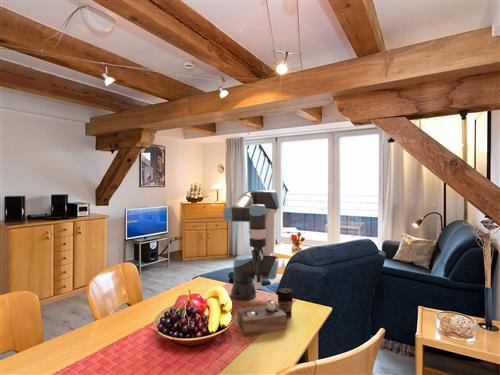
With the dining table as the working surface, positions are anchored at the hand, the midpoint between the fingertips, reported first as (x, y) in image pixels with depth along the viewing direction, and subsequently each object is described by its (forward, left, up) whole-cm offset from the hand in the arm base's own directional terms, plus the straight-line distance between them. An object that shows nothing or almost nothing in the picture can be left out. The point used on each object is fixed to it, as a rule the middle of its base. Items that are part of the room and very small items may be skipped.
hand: (258, 288), depth 129 cm
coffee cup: (-6, +17, -19) cm, 26 cm away
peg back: (0, +7, -13) cm, 15 cm away
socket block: (0, +2, -18) cm, 18 cm away
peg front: (0, -3, -17) cm, 17 cm away
